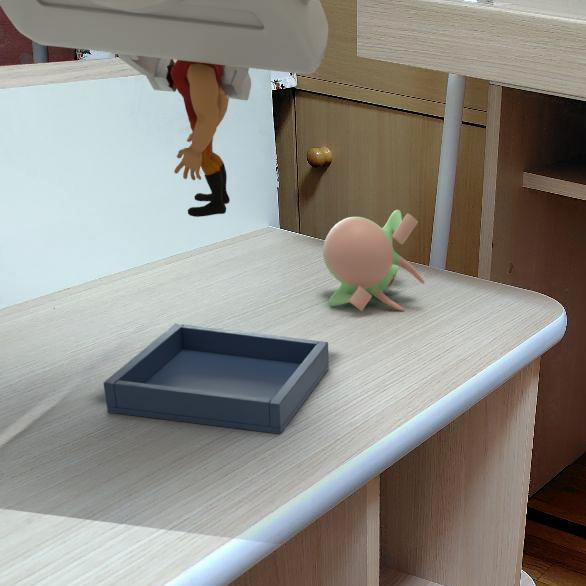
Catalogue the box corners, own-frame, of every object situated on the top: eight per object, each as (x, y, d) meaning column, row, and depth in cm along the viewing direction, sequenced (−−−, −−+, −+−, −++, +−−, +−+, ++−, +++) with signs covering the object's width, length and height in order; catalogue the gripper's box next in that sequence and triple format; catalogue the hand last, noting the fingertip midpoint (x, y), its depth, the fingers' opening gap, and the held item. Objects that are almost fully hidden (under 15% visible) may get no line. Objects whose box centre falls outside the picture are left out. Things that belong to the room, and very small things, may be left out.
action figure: (192, 192, 78) (169, -25, 70) (239, 194, 79) (221, -21, 71) (176, 224, 70) (148, -17, 62) (229, 226, 71) (207, -13, 63)
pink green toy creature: (453, 251, 101) (422, 237, 108) (379, 186, 95) (351, 176, 102) (383, 346, 101) (357, 326, 109) (305, 287, 95) (283, 270, 103)
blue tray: (107, 412, 76) (102, 382, 75) (178, 350, 88) (175, 323, 86) (280, 434, 76) (279, 404, 74) (328, 368, 87) (328, 341, 86)
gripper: (311, -101, 58) (354, 65, 71) (-31, -138, 58) (76, 34, 72) (291, -11, 56) (339, 142, 70) (-60, -49, 57) (55, 109, 70)
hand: (203, 87), depth 71 cm, fingers closed on action figure, 4 cm apart
